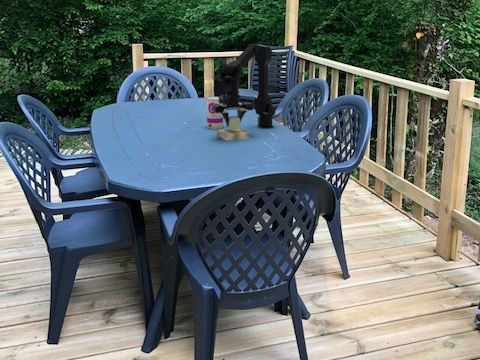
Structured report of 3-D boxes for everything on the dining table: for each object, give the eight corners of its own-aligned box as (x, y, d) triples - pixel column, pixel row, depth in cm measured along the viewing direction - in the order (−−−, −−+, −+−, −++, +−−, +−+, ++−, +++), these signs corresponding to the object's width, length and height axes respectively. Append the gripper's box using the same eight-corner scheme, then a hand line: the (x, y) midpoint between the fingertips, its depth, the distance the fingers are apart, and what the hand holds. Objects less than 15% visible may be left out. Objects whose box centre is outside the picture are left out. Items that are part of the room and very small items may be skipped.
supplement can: (221, 129, 283) (220, 99, 278) (205, 129, 284) (204, 99, 280) (225, 126, 290) (224, 96, 286) (209, 125, 292) (208, 96, 287)
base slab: (240, 134, 276) (240, 127, 275) (249, 139, 265) (249, 133, 264) (216, 136, 272) (216, 130, 271) (225, 141, 261) (225, 135, 260)
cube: (236, 126, 270) (235, 116, 268) (239, 128, 266) (239, 118, 264) (226, 127, 268) (225, 116, 267) (229, 129, 264) (229, 118, 262)
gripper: (244, 88, 272) (244, 120, 277) (207, 91, 266) (208, 124, 270) (253, 92, 262) (253, 125, 267) (215, 94, 256) (216, 129, 261)
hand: (232, 125), depth 267 cm, fingers closed on cube, 5 cm apart
